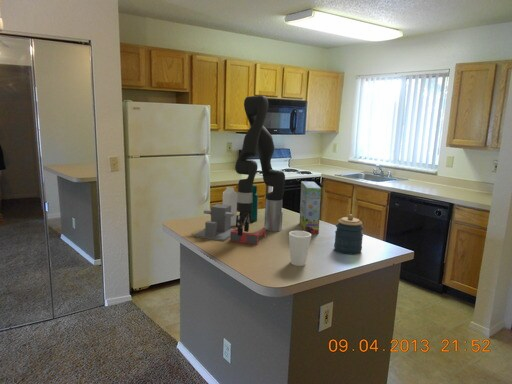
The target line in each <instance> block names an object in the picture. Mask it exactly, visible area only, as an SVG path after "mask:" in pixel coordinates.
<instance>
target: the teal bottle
mask: <svg viewBox="0 0 512 384" xmlns="http://www.w3.org/2000/svg"><path fill="white" fill-rule="evenodd" d="M257 191H258V186H257V185H255V184H253V191H252V194H253V202H252V211H251V222H250V223H254V222H255V223H256V222H257V221H258V213H259V212H258V211H259V210H258V209H259V194H258V193H257Z"/></svg>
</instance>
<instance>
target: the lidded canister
mask: <svg viewBox="0 0 512 384" xmlns="http://www.w3.org/2000/svg"><path fill="white" fill-rule="evenodd" d="M337 222H338V223H336V224H335V227H336V230H335V235H334V244H333V245H334V246H333V247H334V250H335V251H336V252H338V253H340V254H345V255H358V254H361V253H362V250H363V246H362V245H363V238H364V237H363V236H364V234H363V230H364V229H365V227H364V226H363V221H361V220H360V219H359V218H356V217H354V215H353V214H348V215H347V216H345V217H344V216H343V217H341V218H339V219H338V220H337Z"/></svg>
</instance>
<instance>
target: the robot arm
mask: <svg viewBox="0 0 512 384" xmlns="http://www.w3.org/2000/svg"><path fill="white" fill-rule="evenodd" d="M243 101H244V102H243V107H244V111H245V115H246V117H247V120H248V122H249V125H250V126H249V129H248V130H247V132H246V133H245V136H244V138H243V143H242V148H241V151H240V154H239V156H238V158H237V160H236V163H235V166H234V169H235V172H236V173H237V174H238V175H244V176H245V175H246V176H247V177H246V178H243V179H242V178H241V179H239V180H238V183H237V184H238V185H237V212H239V214H237V216H236V225H235V228H238V236H242V232H245V233H249V229H250V223H252V222H251V211H252V202H253V194H252V191H253V185H254V181H255V177H256V175H257V172H258V168H259V167H258V163H257V162H256V160H251V159H248V158H251V157H255V156H256V155H257V154H258V158H259V162H260V163H259V164H260V167H261V174H262V179H263V183H264V184H265V185H266V186H267V187H273V189H272V191H270V192H267V193H266V194H265V201H264V202H265V206H264V225H263V226H264V227H263V228H266V229H265V231H268V232H280V231H281V230H282V229H283V212H282V210H283V197H284V194H285V183H286V175H285V172H284V171H282V170H275V169H273V167H272V164H271V162H272V161H271V160H272V158H273V155H274V151H275V143H274V140H273V135H272V134H271V133H270V132H269V130H268V129H267V128H266V127H265V126H264V124H265V121H266V118H267V115H268V110H269V99H268V98H267V96H266V95H253V96H252V95H251V96H246V97H245V99H244V100H243Z"/></svg>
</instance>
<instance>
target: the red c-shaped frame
mask: <svg viewBox="0 0 512 384" xmlns="http://www.w3.org/2000/svg"><path fill="white" fill-rule="evenodd" d="M233 229H234V230H232V231H231V233H230V238H229V239H230V242H236V243H240V244H248V245H255V246H256V245H257V246H258V244H259V237H260V236H261V235H262V236H261V237H262V239H263V238H264V239H265V238H266V230H265V229H266V228H264V227H262V228H261V229H260V230H259V231H257V232H256V233H251V232H245V231H243V232H242V236H238V228H237V227H235V228H233Z"/></svg>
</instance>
